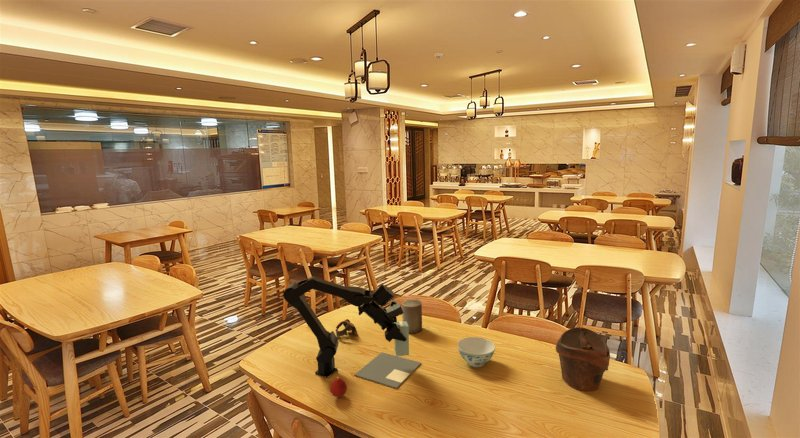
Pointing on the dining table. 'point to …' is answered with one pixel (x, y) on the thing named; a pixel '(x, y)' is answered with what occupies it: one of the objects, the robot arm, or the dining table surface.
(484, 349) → the chinaware
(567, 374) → the brown flower pot
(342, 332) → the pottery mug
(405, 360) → the mat
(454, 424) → the dining table surface
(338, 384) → the pomegranate
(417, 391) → the dining table surface
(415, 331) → the pillar candle
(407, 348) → the block
